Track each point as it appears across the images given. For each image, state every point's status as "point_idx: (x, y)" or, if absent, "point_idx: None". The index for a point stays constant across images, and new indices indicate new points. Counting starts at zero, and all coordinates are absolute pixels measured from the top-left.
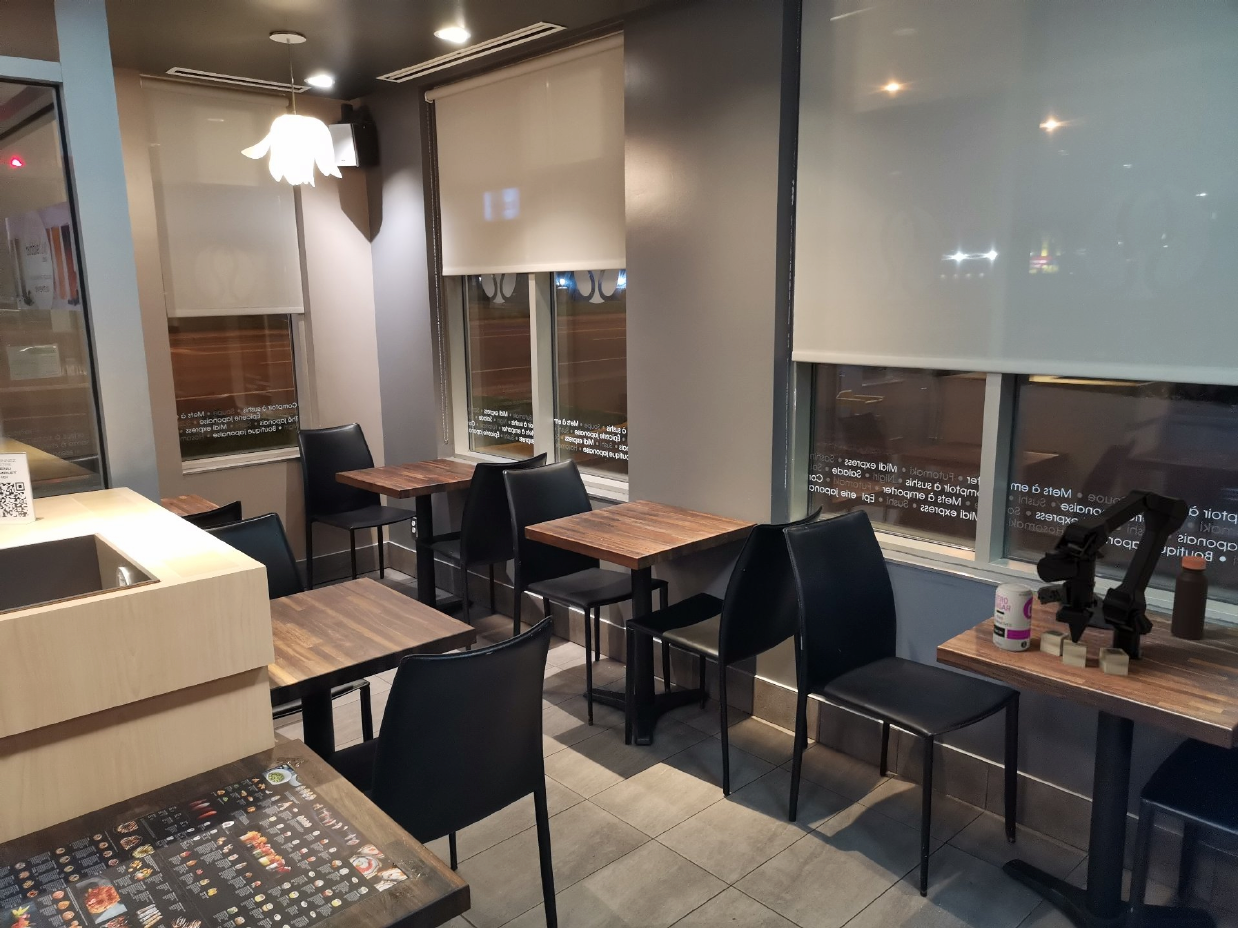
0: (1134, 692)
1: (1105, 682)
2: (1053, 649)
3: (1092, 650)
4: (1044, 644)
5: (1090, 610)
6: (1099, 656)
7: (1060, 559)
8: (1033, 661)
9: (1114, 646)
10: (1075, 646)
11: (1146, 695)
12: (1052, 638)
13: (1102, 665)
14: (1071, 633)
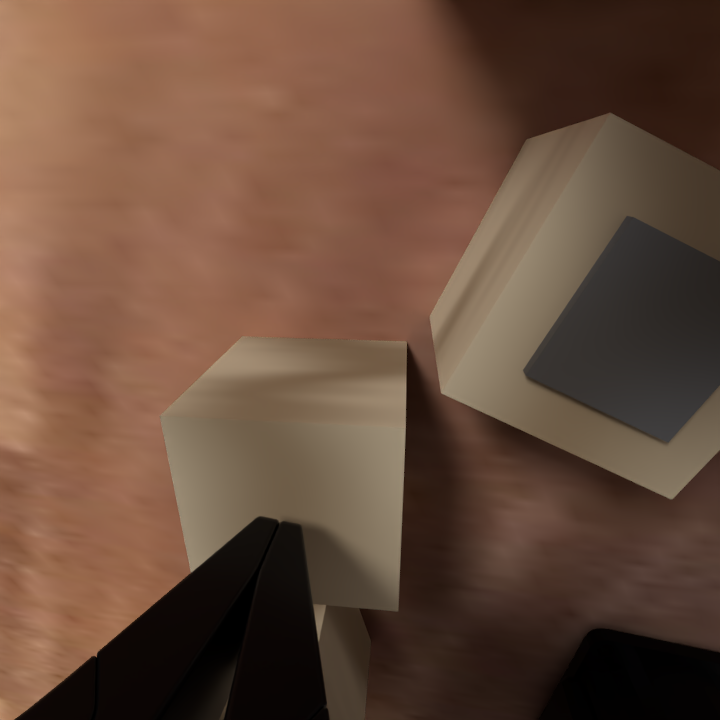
0: (31, 639)
1: (71, 547)
2: (464, 276)
3: (653, 550)
4: (521, 180)
5: None
6: (323, 609)
7: None
8: (168, 79)
9: (639, 709)
10: (220, 518)
11: (32, 672)
12: (490, 286)
13: None
14: (156, 610)
